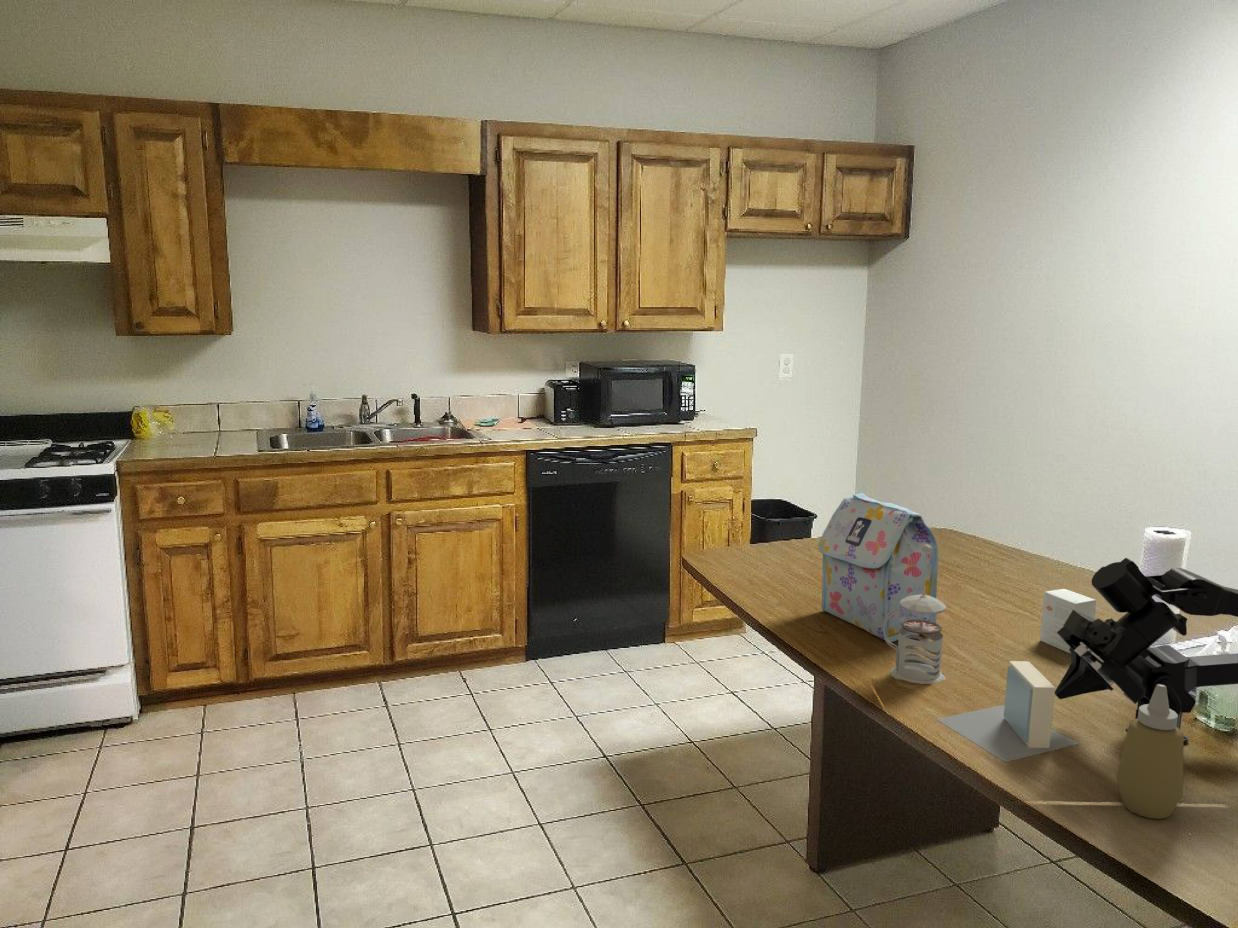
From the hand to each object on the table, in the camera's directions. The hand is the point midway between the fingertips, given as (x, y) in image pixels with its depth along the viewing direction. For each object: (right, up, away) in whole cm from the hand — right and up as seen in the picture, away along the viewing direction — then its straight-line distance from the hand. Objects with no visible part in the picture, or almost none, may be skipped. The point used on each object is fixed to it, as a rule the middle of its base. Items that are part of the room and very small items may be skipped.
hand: (1056, 696), depth 148 cm
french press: (-15, -2, +24) cm, 29 cm away
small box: (+20, 0, +38) cm, 43 cm away
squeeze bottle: (+3, -11, -19) cm, 22 cm away
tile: (-5, -6, +1) cm, 8 cm away
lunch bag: (-16, +3, +51) cm, 53 cm away
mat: (-7, -6, +2) cm, 10 cm away
